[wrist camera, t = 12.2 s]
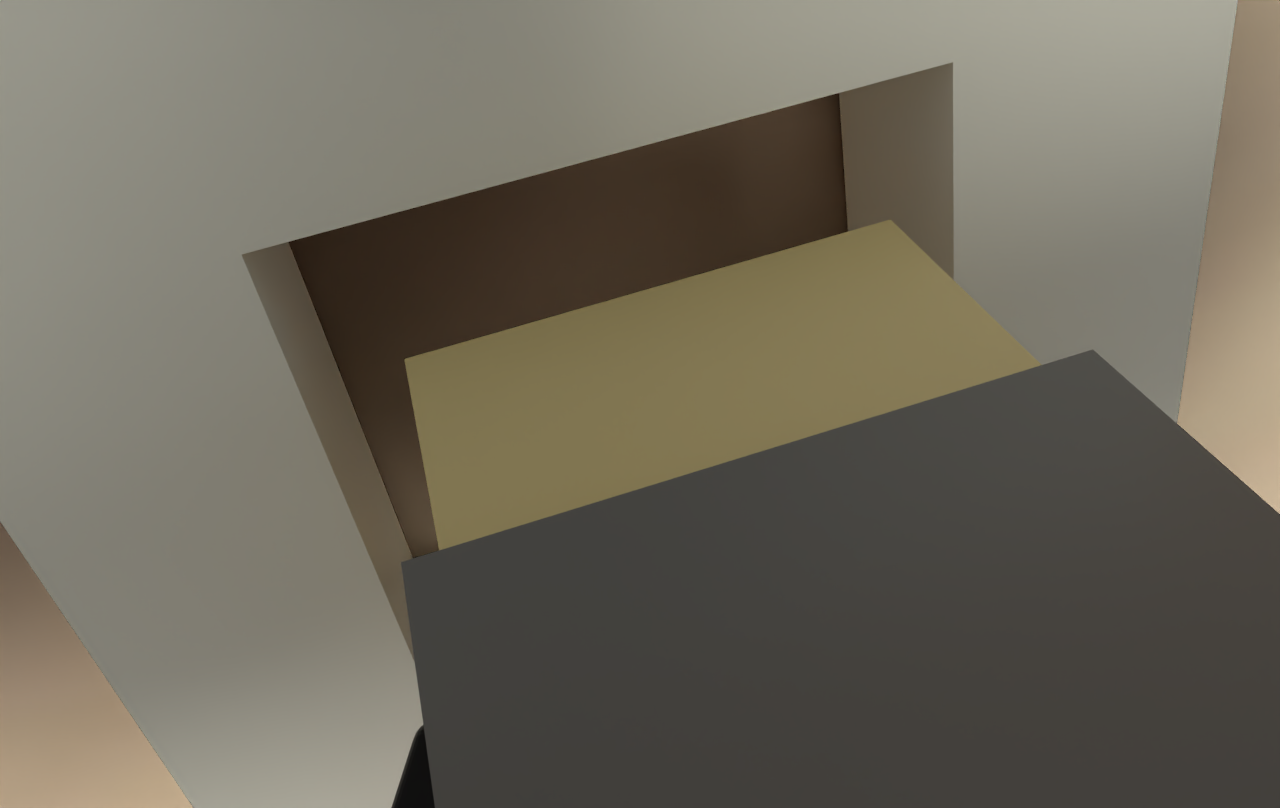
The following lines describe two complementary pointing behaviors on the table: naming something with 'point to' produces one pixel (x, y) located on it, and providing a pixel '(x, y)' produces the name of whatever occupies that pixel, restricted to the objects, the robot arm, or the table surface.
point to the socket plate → (441, 169)
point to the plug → (829, 560)
